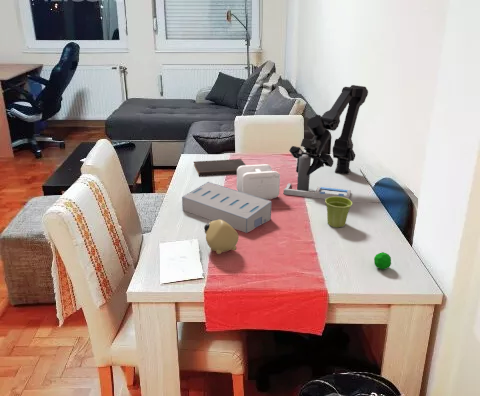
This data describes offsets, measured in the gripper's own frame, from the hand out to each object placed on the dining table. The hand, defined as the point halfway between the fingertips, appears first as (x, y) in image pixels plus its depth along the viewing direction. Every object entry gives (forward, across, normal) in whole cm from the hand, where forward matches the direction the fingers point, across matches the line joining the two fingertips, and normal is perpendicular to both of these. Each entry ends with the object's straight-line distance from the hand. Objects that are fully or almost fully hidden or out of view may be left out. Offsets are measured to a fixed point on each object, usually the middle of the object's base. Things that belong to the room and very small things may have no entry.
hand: (302, 173), depth 203 cm
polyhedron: (+31, +53, -20) cm, 65 cm away
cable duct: (+3, +6, +8) cm, 10 cm away
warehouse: (+33, -7, -22) cm, 40 cm away
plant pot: (+18, +27, -7) cm, 34 cm away
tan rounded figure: (+48, +11, -37) cm, 61 cm away
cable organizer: (+17, -10, -6) cm, 21 cm away
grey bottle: (+4, 0, +6) cm, 8 cm away
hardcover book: (+8, -43, +4) cm, 44 cm away
